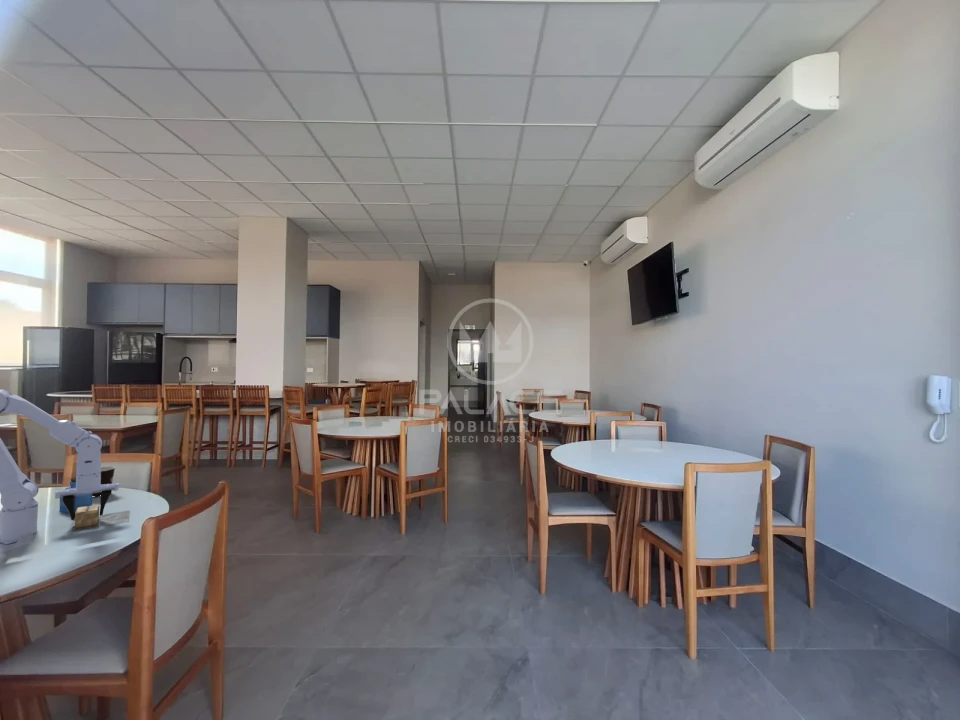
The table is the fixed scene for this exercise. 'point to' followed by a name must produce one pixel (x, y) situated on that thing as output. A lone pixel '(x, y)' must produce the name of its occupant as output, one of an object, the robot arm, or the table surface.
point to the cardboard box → (86, 515)
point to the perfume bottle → (76, 499)
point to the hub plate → (104, 521)
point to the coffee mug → (106, 477)
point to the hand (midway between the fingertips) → (87, 516)
